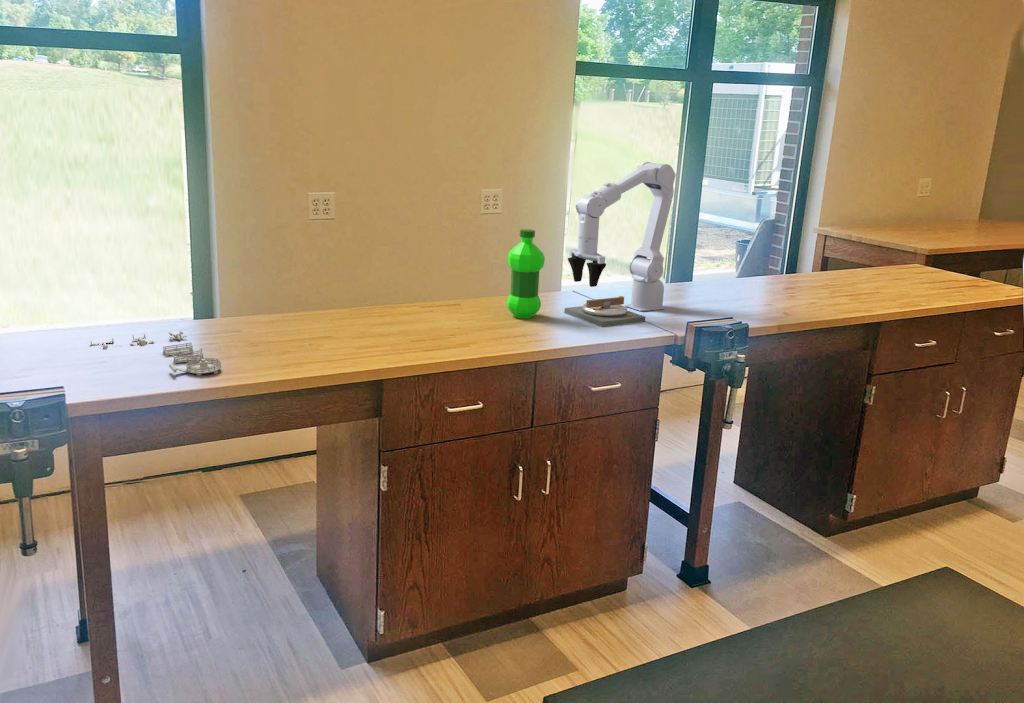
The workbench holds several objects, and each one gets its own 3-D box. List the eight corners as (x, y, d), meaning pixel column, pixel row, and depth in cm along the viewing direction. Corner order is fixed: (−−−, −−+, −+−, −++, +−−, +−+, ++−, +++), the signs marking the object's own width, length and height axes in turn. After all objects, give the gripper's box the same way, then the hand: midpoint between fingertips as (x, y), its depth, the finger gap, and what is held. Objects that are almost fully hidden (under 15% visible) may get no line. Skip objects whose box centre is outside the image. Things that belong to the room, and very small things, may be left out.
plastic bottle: (510, 321, 249) (514, 232, 242) (502, 312, 259) (506, 227, 252) (544, 320, 251) (549, 233, 245) (535, 311, 261) (539, 227, 254)
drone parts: (110, 392, 180) (108, 377, 179) (86, 351, 208) (84, 338, 207) (225, 374, 192) (224, 360, 191) (187, 337, 220) (186, 324, 219)
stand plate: (607, 308, 270) (607, 302, 270) (645, 321, 256) (646, 315, 255) (564, 312, 262) (564, 307, 261) (601, 326, 247) (602, 321, 247)
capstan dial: (608, 304, 267) (609, 292, 266) (636, 314, 256) (637, 301, 255) (573, 308, 260) (574, 295, 259) (600, 318, 250) (601, 304, 248)
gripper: (562, 234, 259) (559, 280, 262) (592, 242, 247) (589, 289, 251) (581, 233, 262) (578, 278, 266) (612, 241, 251) (608, 287, 254)
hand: (585, 283), depth 259 cm, fingers open, 7 cm apart
